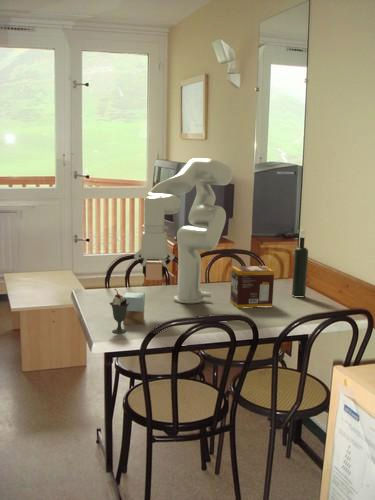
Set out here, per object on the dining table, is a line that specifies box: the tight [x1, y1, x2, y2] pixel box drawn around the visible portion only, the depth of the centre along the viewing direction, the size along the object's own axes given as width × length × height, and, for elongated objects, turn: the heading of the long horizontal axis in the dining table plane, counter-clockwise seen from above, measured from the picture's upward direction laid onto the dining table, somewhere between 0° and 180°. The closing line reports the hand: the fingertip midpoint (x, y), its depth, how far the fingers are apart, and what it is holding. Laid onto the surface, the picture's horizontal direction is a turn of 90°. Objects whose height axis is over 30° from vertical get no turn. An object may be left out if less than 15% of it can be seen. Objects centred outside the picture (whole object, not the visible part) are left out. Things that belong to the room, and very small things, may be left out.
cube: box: [145, 260, 163, 281], centre depth 227 cm, size 6×6×6 cm
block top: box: [123, 292, 146, 311], centre depth 218 cm, size 7×7×5 cm
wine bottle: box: [291, 229, 309, 297], centre depth 264 cm, size 6×6×30 cm
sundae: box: [109, 288, 129, 335], centre depth 206 cm, size 7×7×15 cm
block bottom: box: [122, 308, 145, 326], centre depth 219 cm, size 7×7×5 cm
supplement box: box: [229, 265, 275, 309], centre depth 248 cm, size 10×15×16 cm
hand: (154, 275), depth 228 cm, fingers closed on cube, 6 cm apart
